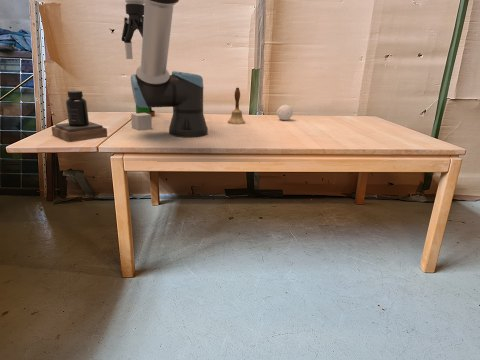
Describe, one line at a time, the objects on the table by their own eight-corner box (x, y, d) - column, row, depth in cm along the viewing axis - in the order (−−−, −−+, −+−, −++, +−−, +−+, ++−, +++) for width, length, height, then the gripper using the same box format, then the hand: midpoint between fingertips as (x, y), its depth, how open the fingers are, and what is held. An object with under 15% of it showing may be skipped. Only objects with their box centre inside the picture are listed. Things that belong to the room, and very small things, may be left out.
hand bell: (248, 123, 171) (249, 88, 166) (232, 124, 167) (233, 88, 162) (240, 120, 178) (241, 86, 173) (224, 121, 174) (225, 86, 169)
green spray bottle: (156, 117, 179) (154, 74, 173) (137, 117, 176) (135, 74, 169) (153, 113, 188) (151, 73, 182) (135, 114, 185) (132, 72, 178)
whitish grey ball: (288, 118, 188) (289, 103, 185) (295, 121, 181) (296, 105, 178) (273, 119, 185) (274, 103, 182) (280, 121, 178) (281, 105, 176)
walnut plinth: (107, 136, 136) (106, 125, 135) (69, 141, 127) (67, 130, 125) (89, 130, 145) (88, 120, 144) (52, 135, 135) (51, 124, 134)
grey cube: (132, 128, 153) (131, 113, 151) (145, 127, 156) (144, 112, 154) (138, 130, 148) (137, 115, 146) (152, 129, 152) (151, 114, 150)
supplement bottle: (75, 122, 138) (71, 90, 134) (92, 123, 137) (89, 90, 134) (64, 126, 132) (60, 91, 128) (82, 127, 131) (78, 92, 127)
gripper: (110, 4, 154) (114, 58, 161) (144, 0, 138) (147, 60, 145) (126, 6, 159) (130, 58, 166) (161, 3, 143) (163, 60, 150)
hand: (138, 59), depth 155 cm, fingers open, 13 cm apart
